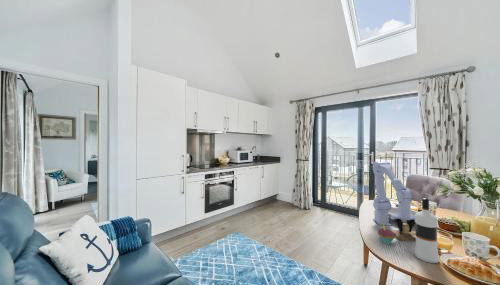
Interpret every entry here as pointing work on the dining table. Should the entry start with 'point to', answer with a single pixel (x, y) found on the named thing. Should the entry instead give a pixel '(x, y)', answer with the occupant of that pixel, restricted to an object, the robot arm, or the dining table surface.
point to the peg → (405, 229)
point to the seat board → (408, 238)
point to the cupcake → (386, 235)
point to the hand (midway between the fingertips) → (404, 231)
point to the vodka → (426, 234)
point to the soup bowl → (396, 212)
